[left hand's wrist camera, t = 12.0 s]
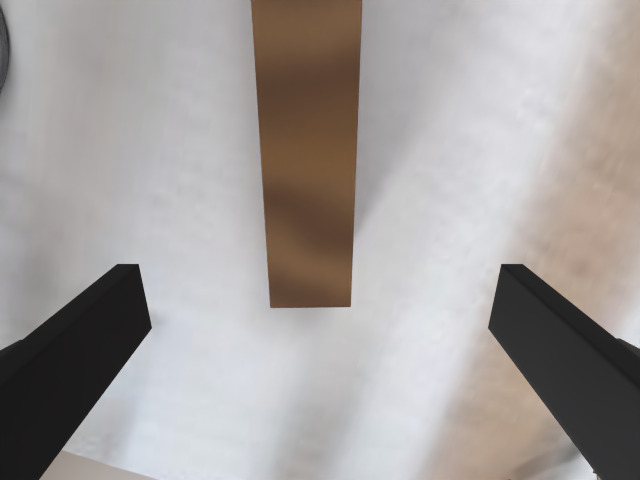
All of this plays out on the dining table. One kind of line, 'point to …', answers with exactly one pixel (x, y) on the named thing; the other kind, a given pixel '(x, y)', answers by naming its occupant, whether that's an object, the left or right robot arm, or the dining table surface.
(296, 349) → the dining table surface
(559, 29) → the dining table surface
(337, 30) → the beam
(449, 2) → the dining table surface
